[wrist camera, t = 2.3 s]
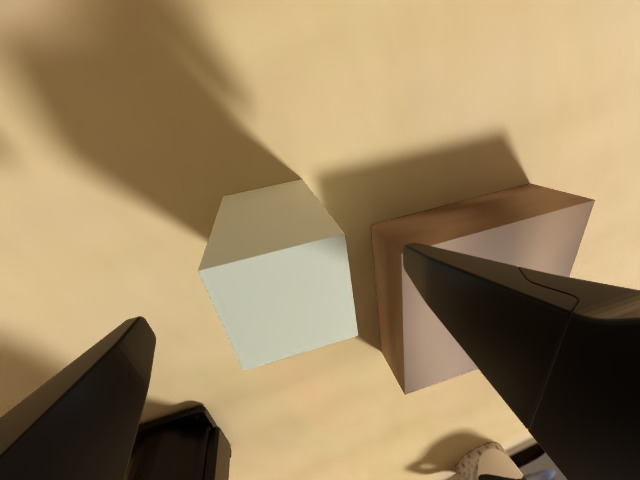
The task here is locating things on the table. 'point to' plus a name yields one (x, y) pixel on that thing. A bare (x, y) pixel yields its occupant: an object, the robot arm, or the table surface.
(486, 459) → the mug
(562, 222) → the walnut block
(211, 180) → the table surface
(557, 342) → the robot arm
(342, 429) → the table surface
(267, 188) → the sage block
